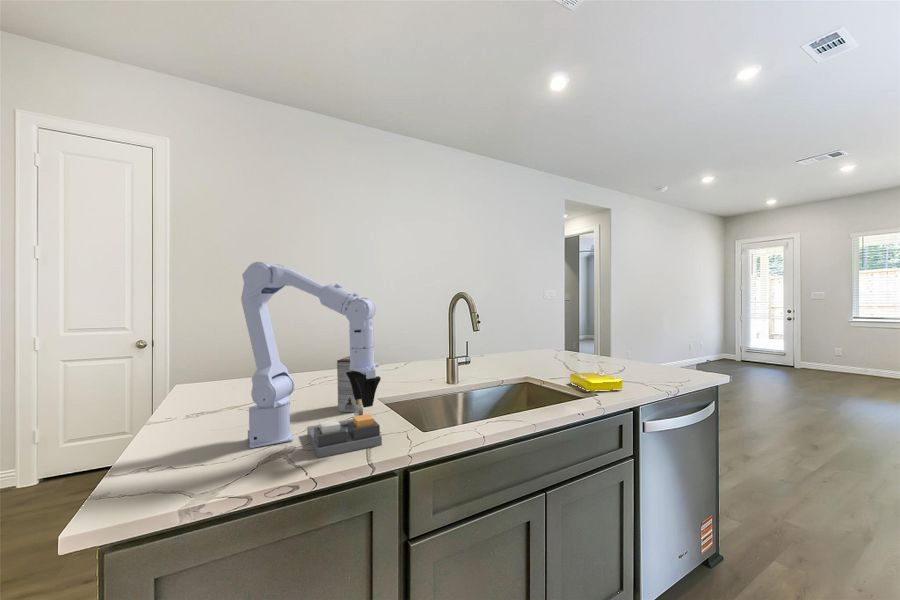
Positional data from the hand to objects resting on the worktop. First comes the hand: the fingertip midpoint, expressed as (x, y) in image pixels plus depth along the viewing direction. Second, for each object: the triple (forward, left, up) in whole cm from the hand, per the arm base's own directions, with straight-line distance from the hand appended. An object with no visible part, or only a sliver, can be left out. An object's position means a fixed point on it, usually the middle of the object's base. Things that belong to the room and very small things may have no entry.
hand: (363, 402), depth 91 cm
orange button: (0, 0, -6) cm, 6 cm away
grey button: (-8, 0, -6) cm, 10 cm away
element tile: (+94, +9, -10) cm, 95 cm away
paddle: (+1, +8, -7) cm, 11 cm away
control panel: (-4, +4, -10) cm, 11 cm away
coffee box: (+5, +29, -10) cm, 31 cm away
